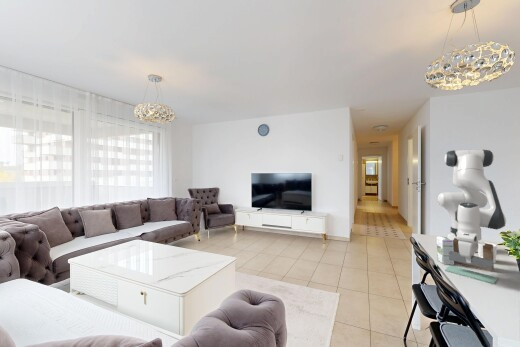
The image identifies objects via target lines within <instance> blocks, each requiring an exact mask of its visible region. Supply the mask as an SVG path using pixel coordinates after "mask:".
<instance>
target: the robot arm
mask: <svg viewBox="0 0 520 347" xmlns="http://www.w3.org/2000/svg"><path fill="white" fill-rule="evenodd" d="M443 160H444V163H445V165H446V166H448V167H451V168H453V172H452V181H451V183H452V185H453V186H454V187H456V188H458V189H461V190H462V191H445V192H440V193H439V194H438V196H437V198H436V200H437V203H438V204H439V205H440V206H441V207H442V208H444V209H445V210H446V211H447V212H448V214H449V217H450V224H451V226H450V229H449V230H450V233H448V234H447V237H448V238H450V239H452V240H454V238H457V240H459V241H458V244H459V252H460V255H461V256H464V257H465V258H466V262H467V263H471V262H472V261H471V256H475V253H478V242H479V241H481V240H482V228H487V229H492V230H496V231H498V230H500V229H502V228H504V227H505V226H506V224H507V218H506V215H505V213H504V211H503V209H502V207H501V206H502V205H501V203H500V200H499V197H498V193H497V190H496V188H495V184H494V182H492V180H490V179H488V178H487V177H486V176H485V174H484V170H485V169H484V168H486V167H490V166H491V165H492V164H493V163H494V160H495V156H494V154H493V152H492V151H491V150H490V149H472V148H471V149H459V150H449V151H447V152H446V153H445V155H444V158H443ZM487 204H488V205H489V206H488V207H489V208H485V207H486V206H487Z"/></svg>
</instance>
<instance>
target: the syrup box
mask: <svg viewBox="0 0 520 347" xmlns="http://www.w3.org/2000/svg"><path fill="white" fill-rule="evenodd" d="M450 251H453V252H454V250H453V240H452V239H450V238H448V236H436V252H437V254H436V256H437V257H436V258H437V259H436V260H437V261H438V262H439V263H441V264H442V265H448V266H450V265H451V266H455V263H454V261H453V260H449V252H450Z"/></svg>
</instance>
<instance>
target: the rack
mask: <svg viewBox="0 0 520 347" xmlns="http://www.w3.org/2000/svg"><path fill="white" fill-rule="evenodd" d="M458 241H459V240H457V238H454V240H453V250H454V252H458V253H460V252H459V244H458ZM486 243H487V242H486ZM486 243H485V245H483V258H486V259H491V260H493V245H492V244H493V243H491V244H486ZM454 264H458V265H461V264H462V265H463V266H465V265H466V266H465V267H469V268H474V269H478V270H483V271H486V272H490V273H492V271H493V269H495V267H494V265H493V269H492V270H491V269H487V268H482V267H478V266H474V265H470V264H465V263H461V262H457V261H454Z"/></svg>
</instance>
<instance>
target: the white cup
mask: <svg viewBox="0 0 520 347" xmlns="http://www.w3.org/2000/svg"><path fill="white" fill-rule="evenodd" d="M485 243H486V244H492V245H493V264H496V261H497V248H498V246H497V244H495V243H491V242H483V241H478V252H477V254H478V257H481V258H483V245H485Z"/></svg>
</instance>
